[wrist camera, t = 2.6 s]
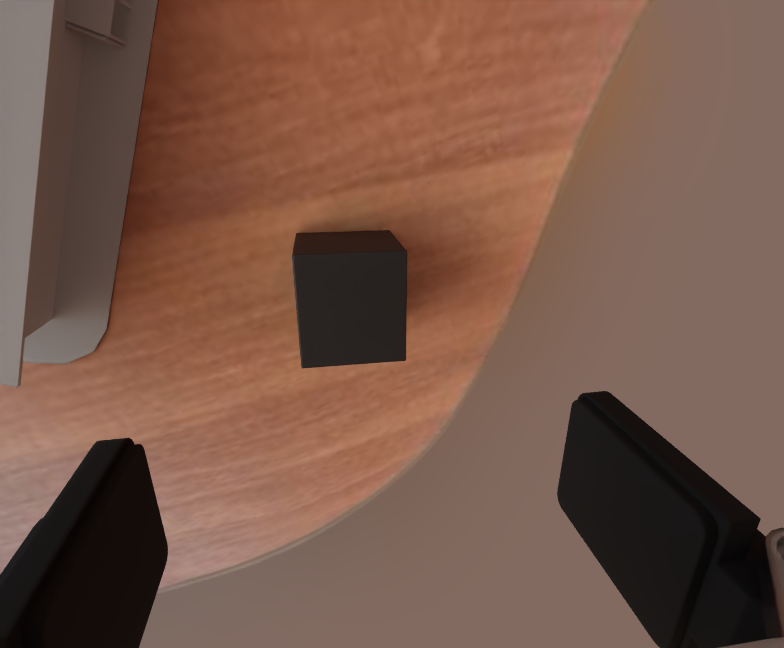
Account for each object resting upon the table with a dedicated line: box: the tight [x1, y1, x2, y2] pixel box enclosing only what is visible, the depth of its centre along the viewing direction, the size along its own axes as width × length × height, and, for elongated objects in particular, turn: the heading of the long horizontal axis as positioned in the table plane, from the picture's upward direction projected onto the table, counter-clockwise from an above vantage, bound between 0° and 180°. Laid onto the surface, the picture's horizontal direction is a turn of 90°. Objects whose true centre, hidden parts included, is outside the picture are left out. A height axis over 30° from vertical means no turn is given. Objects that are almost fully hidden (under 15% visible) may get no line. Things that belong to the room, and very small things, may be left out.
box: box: [292, 230, 407, 368], centre depth 21 cm, size 5×5×5 cm
